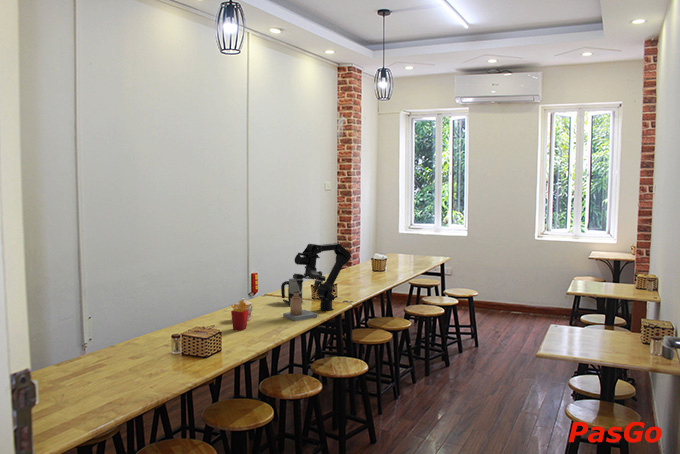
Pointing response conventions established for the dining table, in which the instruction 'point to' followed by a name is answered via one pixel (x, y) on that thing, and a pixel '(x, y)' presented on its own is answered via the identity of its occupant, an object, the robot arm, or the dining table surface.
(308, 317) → the serving board
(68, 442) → the dining table surface
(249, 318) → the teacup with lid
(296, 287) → the milk frother
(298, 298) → the sauce bottle
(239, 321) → the french fries
